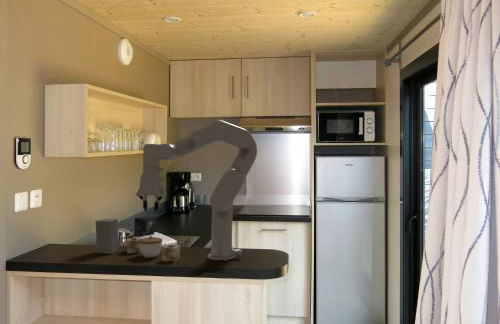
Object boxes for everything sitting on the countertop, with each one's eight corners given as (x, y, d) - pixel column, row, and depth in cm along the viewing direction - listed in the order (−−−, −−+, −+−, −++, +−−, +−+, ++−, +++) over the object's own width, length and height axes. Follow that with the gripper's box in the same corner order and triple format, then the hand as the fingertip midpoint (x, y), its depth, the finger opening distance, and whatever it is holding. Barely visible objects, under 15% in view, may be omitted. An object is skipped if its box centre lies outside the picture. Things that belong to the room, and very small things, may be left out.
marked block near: (179, 258, 186) (180, 245, 186) (174, 262, 180) (175, 247, 180) (167, 258, 187) (167, 244, 187) (161, 261, 181) (162, 247, 181)
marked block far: (140, 250, 202) (140, 237, 202) (140, 253, 196) (140, 240, 196) (127, 250, 200) (128, 237, 200) (127, 253, 194) (127, 240, 194)
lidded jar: (150, 252, 197) (150, 232, 197) (166, 255, 192) (167, 235, 192) (133, 256, 188) (133, 236, 188) (150, 260, 182) (150, 239, 182)
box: (141, 236, 235) (141, 218, 235) (133, 235, 238) (133, 217, 238) (155, 234, 244) (155, 216, 244) (147, 232, 247) (147, 215, 247)
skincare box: (119, 251, 198) (119, 218, 198) (110, 254, 191) (110, 220, 191) (103, 250, 200) (104, 217, 200) (94, 253, 193) (95, 219, 193)
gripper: (171, 170, 193) (170, 209, 193) (135, 170, 193) (135, 209, 194) (167, 171, 185) (167, 211, 186) (130, 170, 186) (130, 211, 186)
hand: (150, 209), depth 190 cm, fingers open, 4 cm apart
